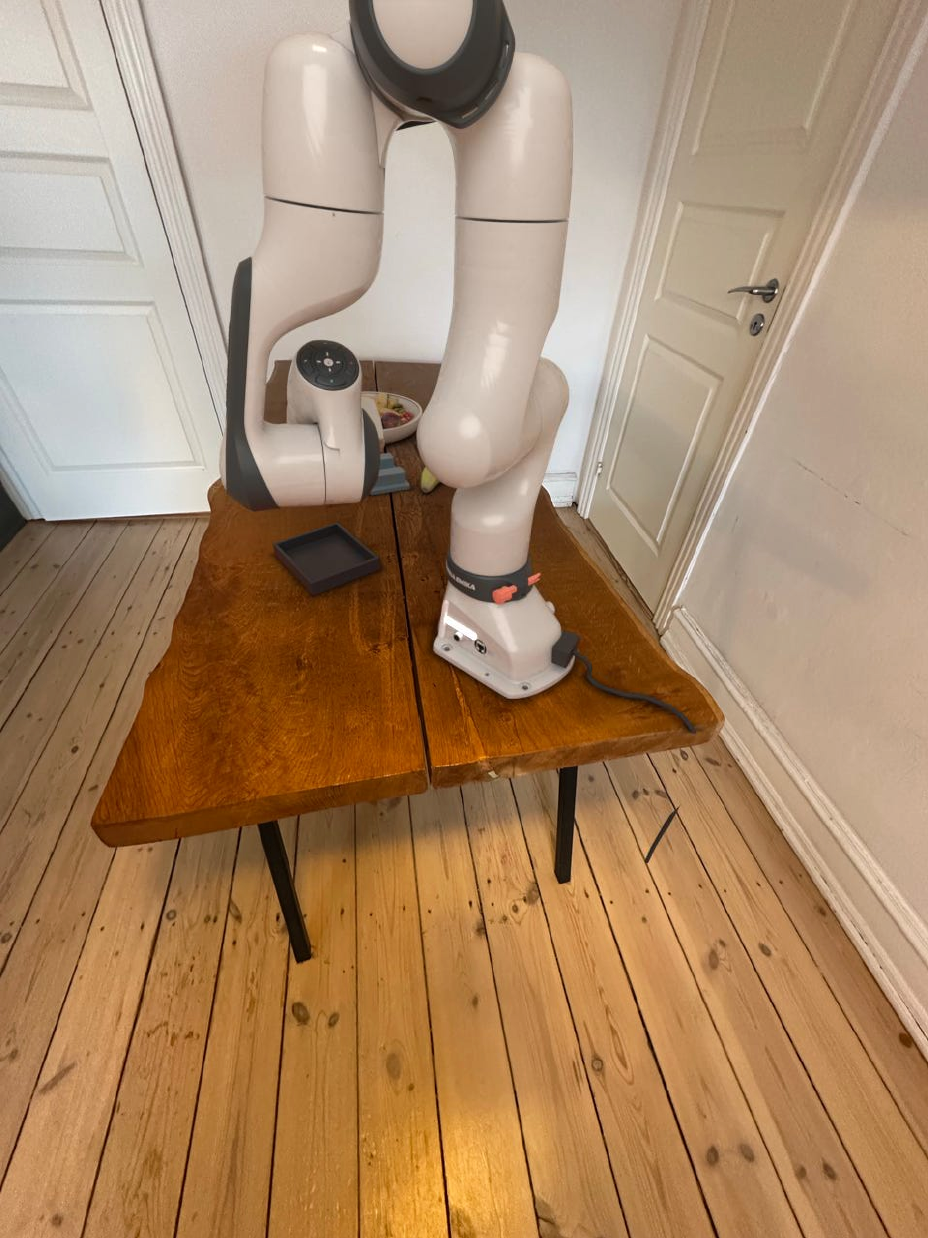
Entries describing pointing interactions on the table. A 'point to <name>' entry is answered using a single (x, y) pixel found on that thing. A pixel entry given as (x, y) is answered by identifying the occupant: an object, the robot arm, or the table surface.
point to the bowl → (396, 415)
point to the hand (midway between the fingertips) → (314, 463)
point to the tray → (326, 557)
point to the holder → (389, 477)
